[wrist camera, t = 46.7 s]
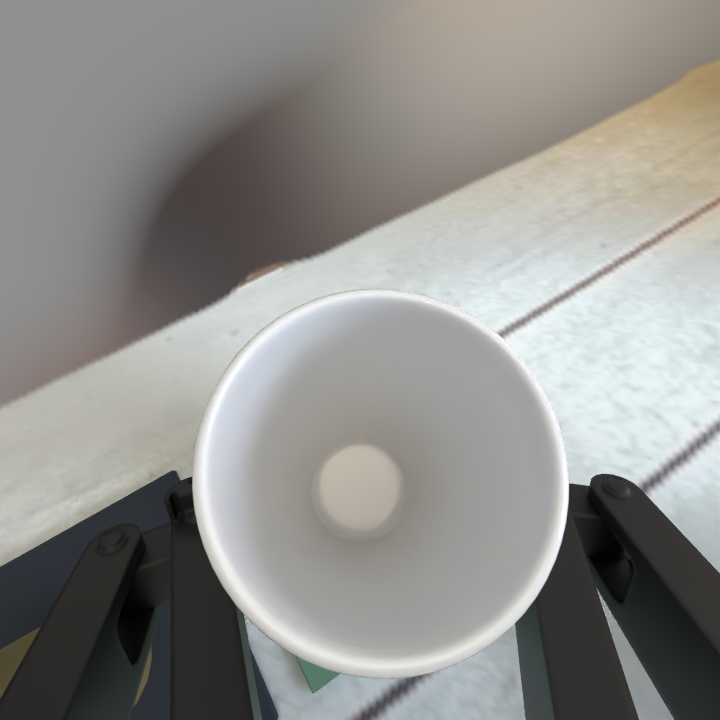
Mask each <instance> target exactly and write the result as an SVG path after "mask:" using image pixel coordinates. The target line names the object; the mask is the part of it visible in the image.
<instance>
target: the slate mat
mask: <svg viewBox="0 0 720 720" xmlns="http://www.w3.org/2000/svg"><path fill="white" fill-rule="evenodd" d="M179 481H180V480H179V478H178V475H177V473H176V471H171V472H169V473H167V474H165V475H164V476H162V477H160V478H158V479H156V480H155V481H153V482H151V483H149V484H148V485H146V486H144V487H142V488H140V489H139V490H137V491H135V492H133V493H132V494H130V495H128V496H126V497H124V498H123V499H121V500H119V501H117V502H116V503H114V504H112V505H110V506H108V507H107V508H105V509H103V510H101V511H99V512H98V513H96V514H94V515H92V516H91V517H89V518H87V519H85V520H83V521H82V522H80V523H78V524H76V525H75V526H73V527H71V528H69V529H67V530H66V531H64V532H62V533H60V534H58V535H57V536H55V537H53V538H51V539H50V540H48V541H46V542H44V543H42V544H41V545H39V546H37V547H35V548H34V549H32V550H30V551H28V552H26V553H25V554H23V555H21V556H19V557H17V558H16V559H14V560H12V561H10V562H9V563H7V564H5V565H3V566H1V567H0V649H2V648H4V647H6V646H7V645H9V644H11V643H13V642H14V641H16V640H18V639H20V638H22V637H23V636H25V635H27V634H29V633H30V632H32V631H34V630H36V629H37V628H39V627H41V626H42V624H43V622H44V620H45V619H46V617H47V615H48V613H49V612H50V610H51V608H52V606H53V604H54V603H55V601H56V599H57V597H58V596H59V594H60V592H61V590H62V588H63V587H64V585H65V583H66V581H67V580H68V578H69V576H70V574H71V573H72V571H73V569H74V567H75V565H76V564H77V562H78V560H79V558H80V557H81V555H82V553H83V551H84V549H85V548H86V546H87V545H88V544H89V543H90V541H91V540H92V539H93V538H94V537H96V536H97V535H98V534H99V533H101V532H102V531H104V530H106V529H108V528H110V527H112V526H115V525H119V524H122V523H132V524H134V525H137V526H138V528H139V529H140V531H141V533H142V532H145V531H148V530H151V529H154V528H157V527H160V526H162V525H165V524H167V523H169V522H171V521H170V518H169V514H168V511H167V508H166V505H165V502H164V497H165V494H166V492H167V491H168V490H169V489H170V488H171V487H172V486H173V485H175V484H176V483H178V482H179ZM170 633H171V600H170V601H168V602H165V603H163V607H162V610H161V614H160V617H159V621H158V624H157V627H156V631H155V634H154V638H153V641H152V645H151V650H152V660H151V665H150V670H149V676H148V680H147V683H146V685H145V687H144V689H143V691H142V693H141V696H140V698H139V700H138V702H137V704H136V705H135V706H134V707H133V710H132V713H131V717H130V720H170ZM250 653H251V659H252V665H253V670H254V676H255V682H256V687H257V693H258V699H259V705H260V710H261V716H262V720H277V719H278V714H277V712H276V709H275V707H274V704H273V702H272V700H271V697H270V695H269V692H268V690H267V688H266V685H265V683H264V681H263V678H262V676H261V673H260V671H259V669H258V666H257V664H256V661H255V659H254V657H253V654H252V652H251V650H250Z"/></svg>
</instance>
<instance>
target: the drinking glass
mask: <svg viewBox="0 0 720 720" xmlns="http://www.w3.org/2000/svg"><path fill="white" fill-rule="evenodd" d="M192 491H193V501H194V510H195V515H196V520H197V525H198V530H199V533H200V536H201V539H202V543H203V546H204V549H205V551H206V554H207V556H208V559H209V561H210V563H211V566H212V568H213V570H214V572H215V573H216V575H217V577H218V579H219V581H220V582H221V584H222V586H223V588H224V589H225V591H226V592H227V593H228V595H229V596H230V598H231V599H232V601H233V602H234V603H235V605H236V606H237V607H238V608H239V609H240V610H241V612H242V613H243V614H244V615H245V616H246V617H247V618H248V620H249V621H250V622H251V623H252V624H254V625H255V626H256V627H257V628H258V629H259V630H260V631H261V632H262V633H263V634H265V635H266V636H267V637H268V638H270V639H271V640H272V641H274V642H275V643H276V644H278V645H279V646H281V647H282V648H283V649H285V650H287V651H288V652H290V653H292V654H294V655H296V656H297V657H299V658H301V659H303V660H305V661H307V662H310V663H312V664H314V665H317V666H319V667H322V668H324V669H327V670H331V671H335V672H338V673H342V674H345V675H351V676H357V677H364V678H379V679H395V678H405V677H414V676H419V675H423V674H428V673H433V672H436V671H439V670H442V669H445V668H448V667H450V666H453V665H456V664H458V663H460V662H462V661H464V660H466V659H468V658H470V657H472V656H474V655H476V654H477V653H479V652H480V651H482V650H483V649H485V648H486V647H488V646H490V645H491V644H493V643H494V642H495V641H496V640H497V639H499V638H500V637H501V636H502V635H503V634H505V633H506V632H507V631H508V630H509V629H510V628H511V627H512V626H513V625H514V624H515V623H516V622H517V621H518V620H519V619H520V618H521V617H522V616H523V615H524V613H525V612H526V611H527V609H528V608H529V607H530V605H531V604H532V603H533V601H534V600H535V599H536V597H537V596H538V594H539V592H540V591H541V589H542V587H543V586H544V584H545V582H546V580H547V578H548V576H549V574H550V572H551V570H552V568H553V565H554V563H555V561H556V558H557V555H558V552H559V549H560V546H561V543H562V539H563V534H564V530H565V526H566V520H567V512H568V504H569V476H568V464H567V458H566V452H565V446H564V442H563V438H562V434H561V431H560V427H559V424H558V422H557V419H556V416H555V413H554V411H553V409H552V406H551V404H550V402H549V400H548V398H547V396H546V394H545V392H544V390H543V389H542V387H541V385H540V383H539V382H538V380H537V378H536V377H535V375H534V374H533V373H532V371H531V370H530V368H529V367H528V365H527V364H526V363H525V362H524V361H523V359H522V358H521V357H520V356H519V355H518V353H517V352H516V351H515V350H514V349H513V348H512V347H511V346H510V345H509V344H508V343H507V342H506V341H505V340H504V339H503V338H501V337H500V336H499V335H498V334H497V333H496V332H494V331H493V330H492V329H491V328H489V327H488V326H487V325H485V324H484V323H482V322H481V321H480V320H478V319H476V318H475V317H473V316H471V315H470V314H468V313H466V312H465V311H463V310H461V309H459V308H457V307H455V306H453V305H450V304H448V303H445V302H443V301H440V300H438V299H434V298H431V297H428V296H425V295H421V294H416V293H412V292H407V291H399V290H390V289H361V290H353V291H345V292H341V293H336V294H331V295H328V296H325V297H321V298H318V299H315V300H313V301H310V302H308V303H305V304H303V305H300V306H298V307H296V308H294V309H292V310H290V311H289V312H287V313H285V314H284V315H282V316H280V317H279V318H277V319H275V320H274V321H273V322H271V323H270V324H269V325H267V326H266V327H265V328H263V329H262V330H261V331H260V332H258V333H257V334H256V335H255V336H254V337H253V338H252V339H251V340H250V341H249V342H248V343H247V344H246V345H245V346H244V347H243V348H242V349H241V350H240V351H239V352H238V353H237V355H236V356H235V357H234V359H233V360H232V361H231V362H230V364H229V365H228V366H227V368H226V369H225V371H224V373H223V374H222V376H221V377H220V379H219V380H218V382H217V384H216V386H215V388H214V390H213V392H212V394H211V396H210V398H209V400H208V403H207V405H206V408H205V410H204V413H203V416H202V419H201V423H200V426H199V429H198V433H197V438H196V443H195V449H194V457H193V468H192Z"/></svg>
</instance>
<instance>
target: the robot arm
mask: <svg viewBox="0 0 720 720" xmlns="http://www.w3.org/2000/svg"><path fill="white" fill-rule="evenodd" d="M164 502H165V505H166V508H167V511H168V514H169V518H170V521H171V522H169V523H167V524H165V525H162V526H160V527H157V528H154V529H151V530H148V531H145V532H142V533H141V531H140V529H139V528H138V526H137V525H134V524H132V523H122V524H119V525H115V526H112V527H110V528H108V529H106V530H104V531H102V532H101V533H99V534H98V535H97V536H96V537H94V538H93V539H92V540H91V541H90V543H89V544H88V545H87V546H86V548H85V549H84V551H83V553H82V555H81V557H80V558H79V560H78V562H77V564H76V565H75V567H74V569H73V571H72V573H71V574H70V576H69V578H68V580H67V581H66V583H65V585H64V587H63V588H62V590H61V592H60V594H59V596H58V597H57V599H56V601H55V603H54V604H53V606H52V608H51V610H50V612H49V613H48V615H47V617H46V619H45V620H44V622H43V624H42V626H41V627H40V629H39V631H38V633H37V635H36V636H35V638H34V640H33V642H32V643H31V645H30V647H29V649H28V651H27V652H26V654H25V656H24V658H23V659H22V661H21V663H20V665H19V666H18V668H17V670H16V672H15V674H14V675H13V677H12V679H11V681H10V682H9V684H8V686H7V688H6V690H5V691H4V693H3V695H2V697H1V698H0V720H130V717H131V713H132V710H133V706H134V703H135V699H136V696H137V693H138V689H139V686H140V682H141V679H142V675H143V672H144V669H145V665H146V662H147V658H148V655H149V651H150V648H151V645H152V641H153V638H154V634H155V631H156V627H157V624H158V621H159V617H160V614H161V610H162V607H163V603H165V602H168V601H170V600H171V633H170V720H262V716H261V710H260V705H259V699H258V693H257V687H256V682H255V676H254V670H253V665H252V659H251V653H250V647H249V642H248V636H247V630H246V624H245V619H244V614H243V613H242V612H241V610H240V609H239V608H238V607H237V606H236V605H235V603H234V602H233V601H232V599H231V598H230V596H229V595H228V593H227V592H226V591H225V589H224V588H223V586H222V584H221V582H220V581H219V579H218V577H217V575H216V573H215V572H214V570H213V568H212V566H211V563H210V561H209V559H208V556H207V554H206V551H205V549H204V546H203V543H202V539H201V536H200V533H199V530H198V525H197V520H196V515H195V510H194V501H193V491H192V477H189V478H186V479H184V480H181V481H179V482H178V483H176V484H175V485H173V486H172V487H171V488H170V489H169V490H168V491H167V492H166V494H165V497H164ZM596 587H597V589H598V591H599V592H600V594H601V596H602V598H603V599H604V601H605V603H606V604H607V606H608V608H609V609H610V611H611V613H612V614H613V616H614V618H615V620H616V621H617V623H618V625H619V626H620V628H621V630H622V631H623V633H624V635H625V637H626V638H627V640H628V642H629V643H630V645H631V647H632V648H633V650H634V652H635V654H636V655H637V657H638V659H639V660H640V662H641V664H642V665H643V667H644V669H645V670H646V672H647V674H648V676H649V677H650V679H651V681H652V682H653V684H654V686H655V687H656V689H657V691H658V693H659V694H660V696H661V698H662V699H663V701H664V703H665V704H666V706H667V708H668V709H669V711H670V713H671V715H672V716H673V718H674V720H720V573H719V572H718V571H717V570H716V569H715V568H714V567H713V566H712V565H711V564H710V563H709V562H708V561H707V560H706V558H705V557H704V556H703V555H702V554H701V553H700V552H699V551H698V550H697V549H696V548H695V547H694V546H693V545H692V544H691V542H690V541H689V540H688V539H687V538H686V537H685V536H684V535H683V534H682V533H681V532H680V531H679V530H678V529H677V528H676V526H675V525H674V524H673V523H672V522H671V521H670V520H669V519H668V518H667V517H666V516H665V515H664V514H663V513H662V512H661V510H660V509H659V508H658V507H657V506H656V505H655V504H654V503H653V502H652V501H651V500H650V499H649V498H648V497H647V496H646V495H645V493H644V492H643V491H642V490H641V489H640V488H639V487H637V486H636V485H635V484H634V483H632V482H630V481H628V480H627V479H625V478H622V477H619V476H616V475H611V474H600V475H596V476H594V477H593V478H591V482H590V486H585V485H577V484H569V504H568V512H567V520H566V526H565V530H564V534H563V539H562V543H561V546H560V549H559V552H558V555H557V558H556V561H555V563H554V565H553V568H552V570H551V572H550V574H549V576H548V578H547V580H546V582H545V584H544V586H543V587H542V589H541V591H540V592H539V594H538V596H537V597H536V599H535V600H534V601H533V603H532V604H531V605H530V607H529V608H528V609H527V611H526V612H525V613H524V615H523V616H522V617H521V618H520V619H519V620H518V621H517V622H516V623H515V626H516V635H517V645H518V654H519V663H520V672H521V681H522V690H523V699H524V708H525V717H526V720H639V719H638V716H637V712H636V709H635V706H634V703H633V700H632V697H631V694H630V691H629V688H628V685H627V682H626V679H625V675H624V672H623V669H622V666H621V663H620V660H619V657H618V654H617V651H616V648H615V645H614V642H613V638H612V635H611V632H610V629H609V626H608V623H607V620H606V617H605V614H604V611H603V608H602V605H601V601H600V598H599V595H598V592H597V589H596Z"/></svg>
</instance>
